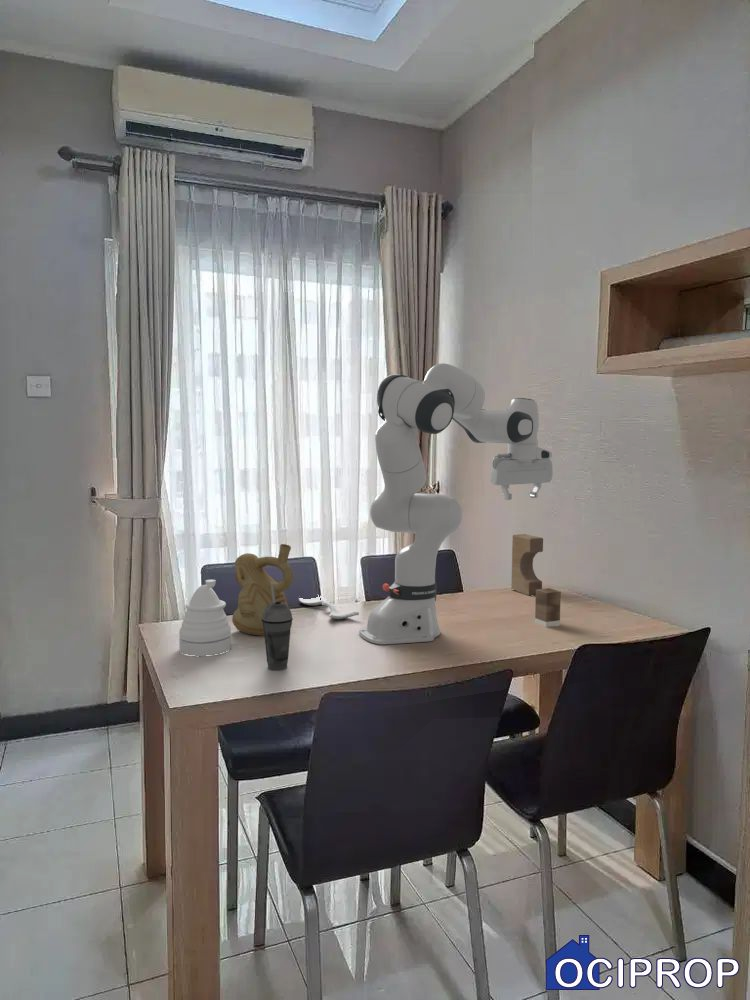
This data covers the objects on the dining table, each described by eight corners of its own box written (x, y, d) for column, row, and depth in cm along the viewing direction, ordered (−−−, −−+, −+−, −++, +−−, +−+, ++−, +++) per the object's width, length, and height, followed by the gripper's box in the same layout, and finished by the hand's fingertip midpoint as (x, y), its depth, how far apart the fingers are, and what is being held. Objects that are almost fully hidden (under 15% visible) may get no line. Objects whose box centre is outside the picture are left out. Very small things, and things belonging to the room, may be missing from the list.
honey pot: (241, 645, 179) (240, 577, 177) (210, 659, 167) (209, 587, 166) (201, 639, 184) (200, 573, 183) (168, 653, 172) (167, 582, 171)
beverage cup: (292, 672, 158) (291, 586, 157) (260, 672, 158) (259, 587, 156) (293, 661, 166) (293, 580, 164) (263, 662, 165) (262, 580, 163)
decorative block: (542, 594, 239) (544, 537, 237) (528, 596, 237) (530, 538, 235) (524, 588, 249) (525, 533, 247) (510, 589, 247) (511, 534, 245)
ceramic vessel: (254, 619, 205) (253, 536, 203) (309, 627, 196) (308, 541, 194) (215, 633, 190) (214, 543, 188) (273, 643, 181) (272, 549, 179)
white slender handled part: (332, 626, 199) (332, 614, 199) (294, 602, 227) (294, 592, 227) (360, 622, 203) (360, 611, 203) (320, 599, 231) (319, 589, 231)
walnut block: (535, 589, 201) (535, 623, 202) (546, 593, 197) (545, 627, 198) (549, 588, 203) (548, 621, 204) (560, 591, 199) (559, 625, 200)
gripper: (499, 454, 198) (497, 502, 200) (556, 452, 207) (554, 498, 209) (487, 453, 204) (486, 499, 206) (543, 451, 212) (541, 495, 214)
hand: (521, 498), depth 207 cm, fingers open, 8 cm apart
